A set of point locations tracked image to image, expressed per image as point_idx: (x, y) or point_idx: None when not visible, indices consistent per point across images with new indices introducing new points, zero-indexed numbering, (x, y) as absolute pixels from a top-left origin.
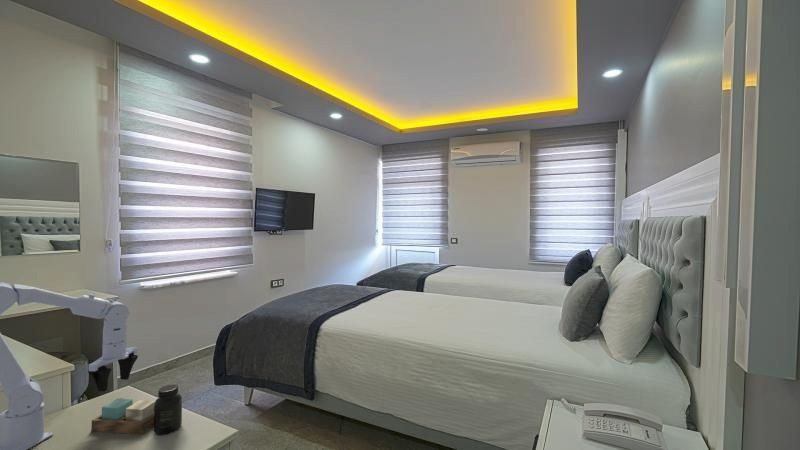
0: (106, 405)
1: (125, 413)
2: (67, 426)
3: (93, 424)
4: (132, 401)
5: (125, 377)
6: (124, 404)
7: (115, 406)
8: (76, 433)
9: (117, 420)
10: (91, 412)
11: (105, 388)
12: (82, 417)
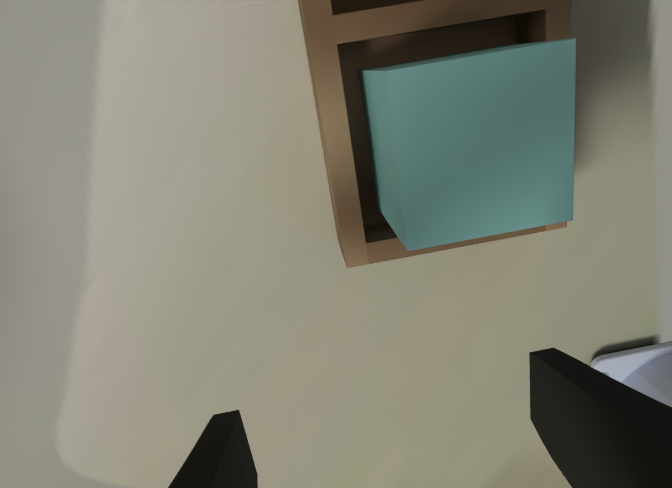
0: (537, 213)
1: (442, 57)
2: (506, 380)
3: None
4: (382, 71)
5: (242, 445)
6: (493, 52)
7: (547, 102)
8: (561, 260)
9: (547, 12)
10: (357, 414)
11: (569, 359)
12: (414, 403)
